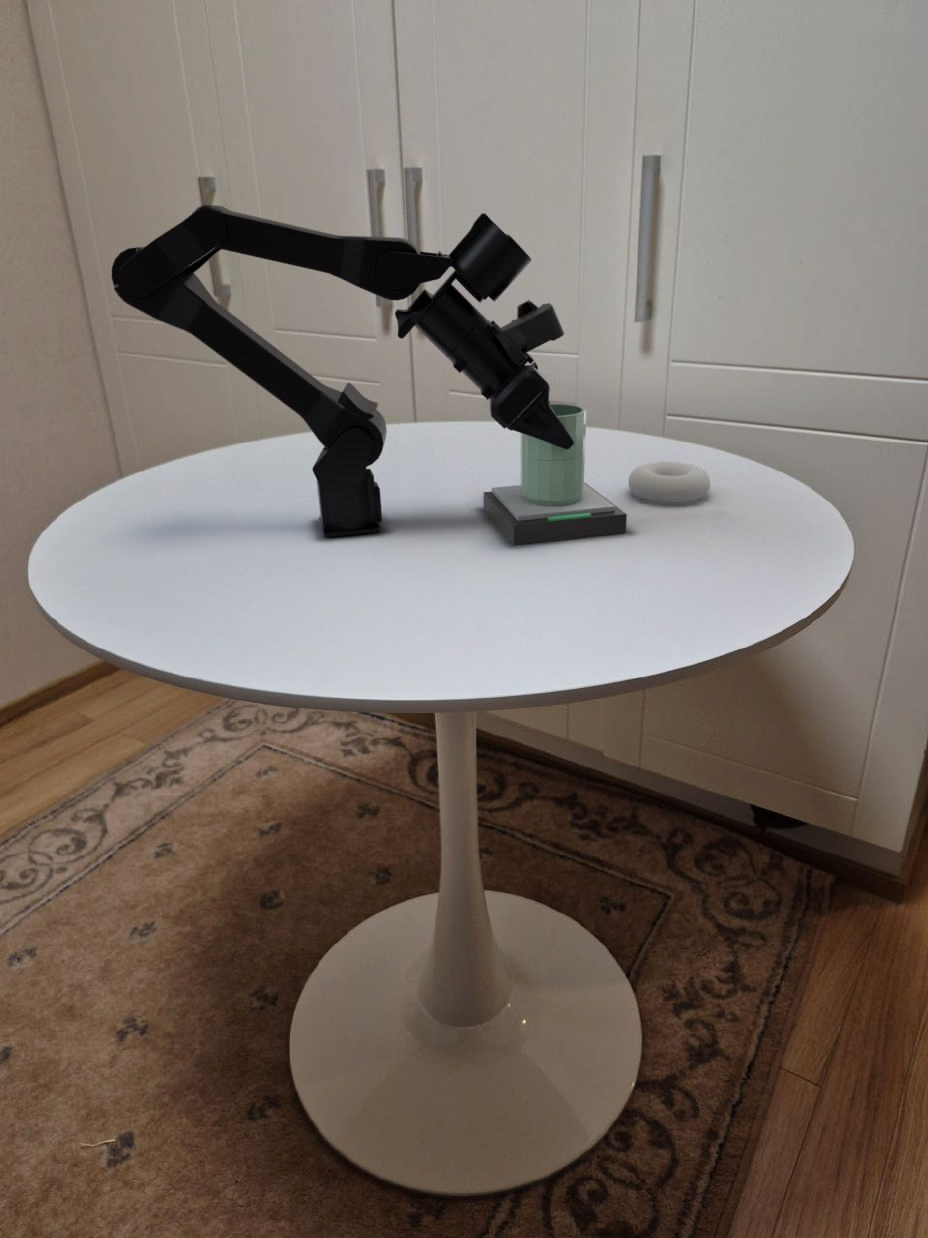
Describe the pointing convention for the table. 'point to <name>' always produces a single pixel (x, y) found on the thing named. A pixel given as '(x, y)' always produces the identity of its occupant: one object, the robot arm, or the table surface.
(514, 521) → the scale
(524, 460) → the pale green cup
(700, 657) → the table surface
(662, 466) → the donut
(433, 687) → the table surface
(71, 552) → the table surface
